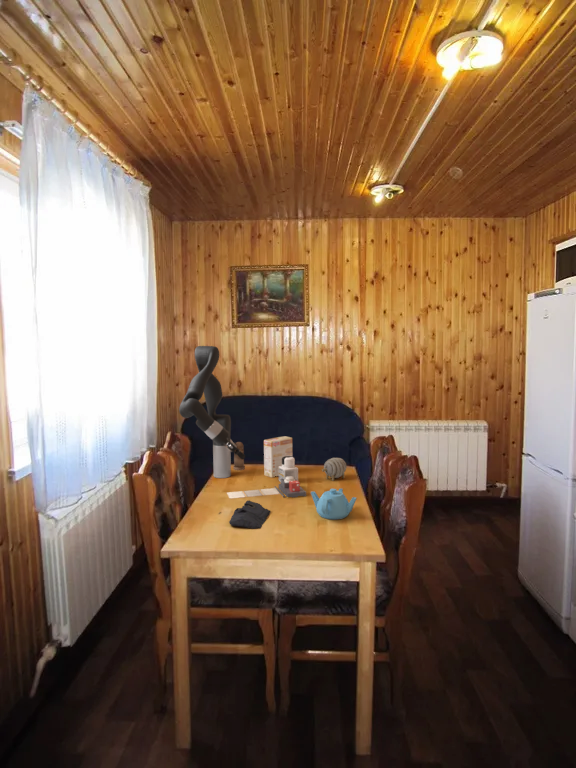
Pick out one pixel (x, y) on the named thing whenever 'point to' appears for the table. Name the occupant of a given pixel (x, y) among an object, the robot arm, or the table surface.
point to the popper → (292, 488)
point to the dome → (289, 479)
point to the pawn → (238, 458)
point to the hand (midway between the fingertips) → (243, 456)
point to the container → (288, 468)
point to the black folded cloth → (250, 515)
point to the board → (254, 493)
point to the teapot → (333, 504)
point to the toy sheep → (334, 468)
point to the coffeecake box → (276, 454)
